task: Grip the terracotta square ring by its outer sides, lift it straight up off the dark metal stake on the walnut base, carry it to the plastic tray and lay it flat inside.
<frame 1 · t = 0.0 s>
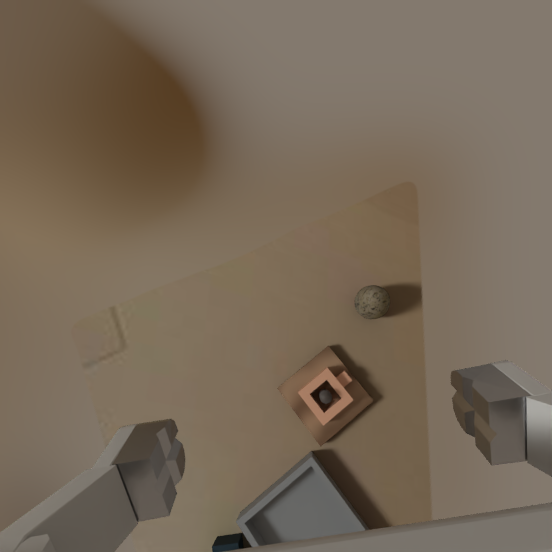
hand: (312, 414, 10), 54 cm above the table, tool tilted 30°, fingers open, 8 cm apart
decorative egg: (367, 305, 64), on the table
ring: (324, 394, 59), point 2 cm above the table, touching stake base
tray: (305, 523, 56), on the table
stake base: (324, 393, 61), on the table
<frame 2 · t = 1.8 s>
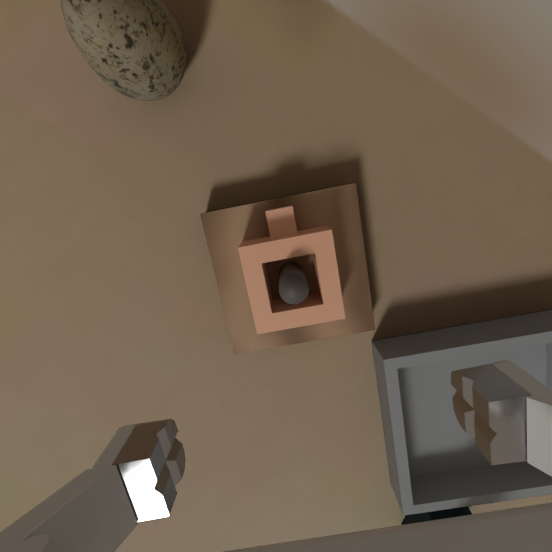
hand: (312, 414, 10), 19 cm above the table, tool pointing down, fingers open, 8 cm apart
decorative egg: (158, 69, 25), on the table
watch: (433, 513, 35), on the table
ring: (291, 274, 27), point 2 cm above the table, touching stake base
tray: (465, 402, 31), on the table
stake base: (290, 268, 28), on the table
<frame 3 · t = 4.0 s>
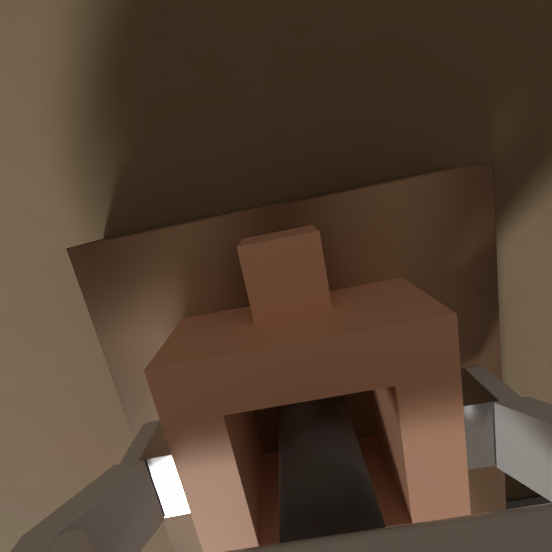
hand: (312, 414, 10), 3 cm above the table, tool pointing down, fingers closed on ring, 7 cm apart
ring: (309, 395, 11), point 2 cm above the table, touching gripper, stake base
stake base: (304, 363, 13), on the table
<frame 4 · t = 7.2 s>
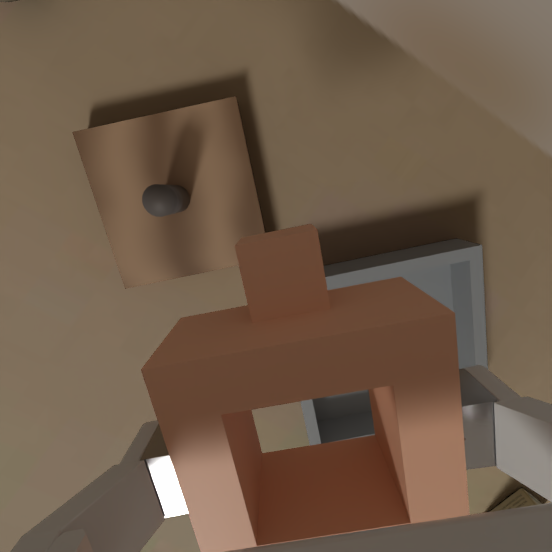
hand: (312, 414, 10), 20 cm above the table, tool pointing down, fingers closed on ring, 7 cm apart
skincare box: (509, 511, 37), on the table
ring: (308, 394, 11), point 19 cm above the table, touching gripper
tray: (376, 339, 31), on the table
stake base: (183, 198, 27), on the table
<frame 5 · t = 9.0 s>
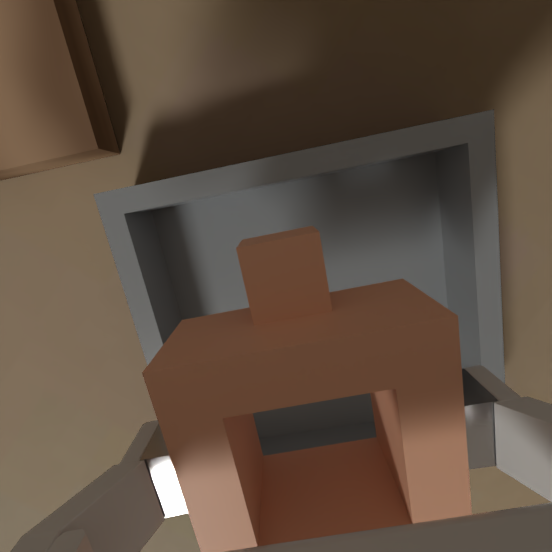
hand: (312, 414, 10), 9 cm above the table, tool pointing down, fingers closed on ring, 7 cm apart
ring: (309, 396, 11), point 8 cm above the table, touching gripper
tray: (312, 312, 18), on the table
when the fingers open (3 cm above the table, at t = 10.5 s): ring drops 2 cm, resting on tray.
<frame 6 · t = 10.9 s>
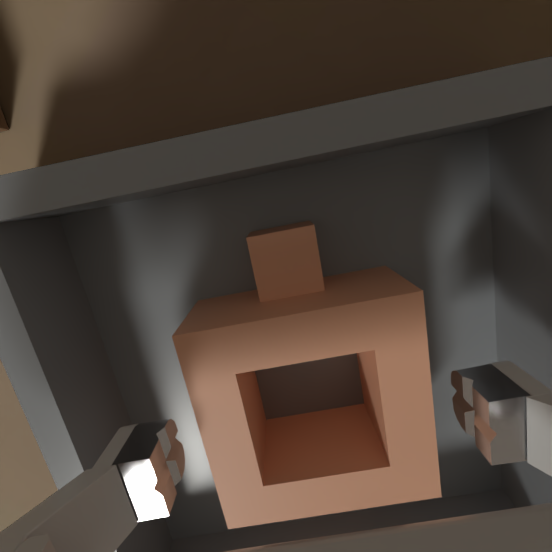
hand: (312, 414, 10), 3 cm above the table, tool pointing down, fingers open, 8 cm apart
ring: (306, 367, 12), point 1 cm above the table, touching tray
tray: (303, 359, 13), on the table
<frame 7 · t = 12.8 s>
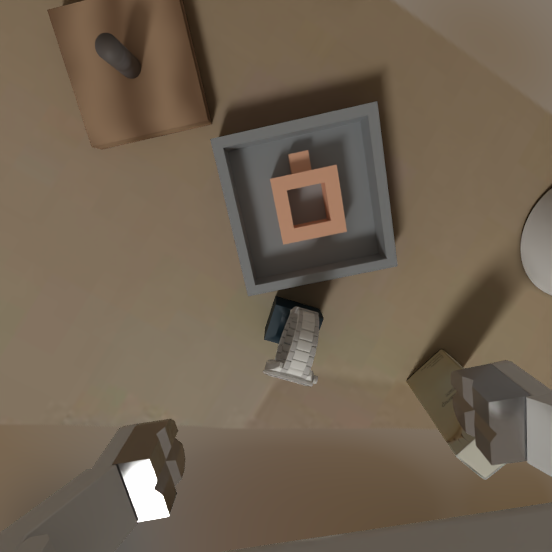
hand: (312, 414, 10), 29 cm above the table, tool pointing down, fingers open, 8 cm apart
skincare box: (433, 374, 42), on the table
watch: (292, 319, 40), on the table
ring: (306, 204, 36), point 1 cm above the table, touching tray
tray: (305, 204, 36), on the table
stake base: (139, 74, 33), on the table
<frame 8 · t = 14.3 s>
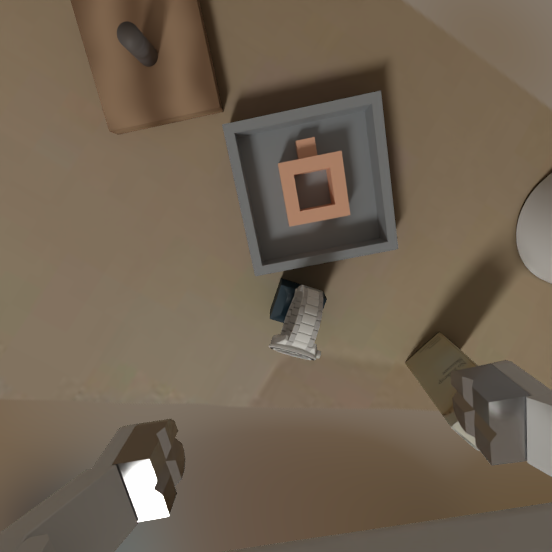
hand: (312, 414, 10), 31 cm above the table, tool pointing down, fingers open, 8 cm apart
skincare box: (431, 356, 44), on the table
watch: (296, 300, 42), on the table
ring: (311, 189, 38), point 1 cm above the table, touching tray
tray: (310, 189, 38), on the table
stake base: (155, 63, 35), on the table
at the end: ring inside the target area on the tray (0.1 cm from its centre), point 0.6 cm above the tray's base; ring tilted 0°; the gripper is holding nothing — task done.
